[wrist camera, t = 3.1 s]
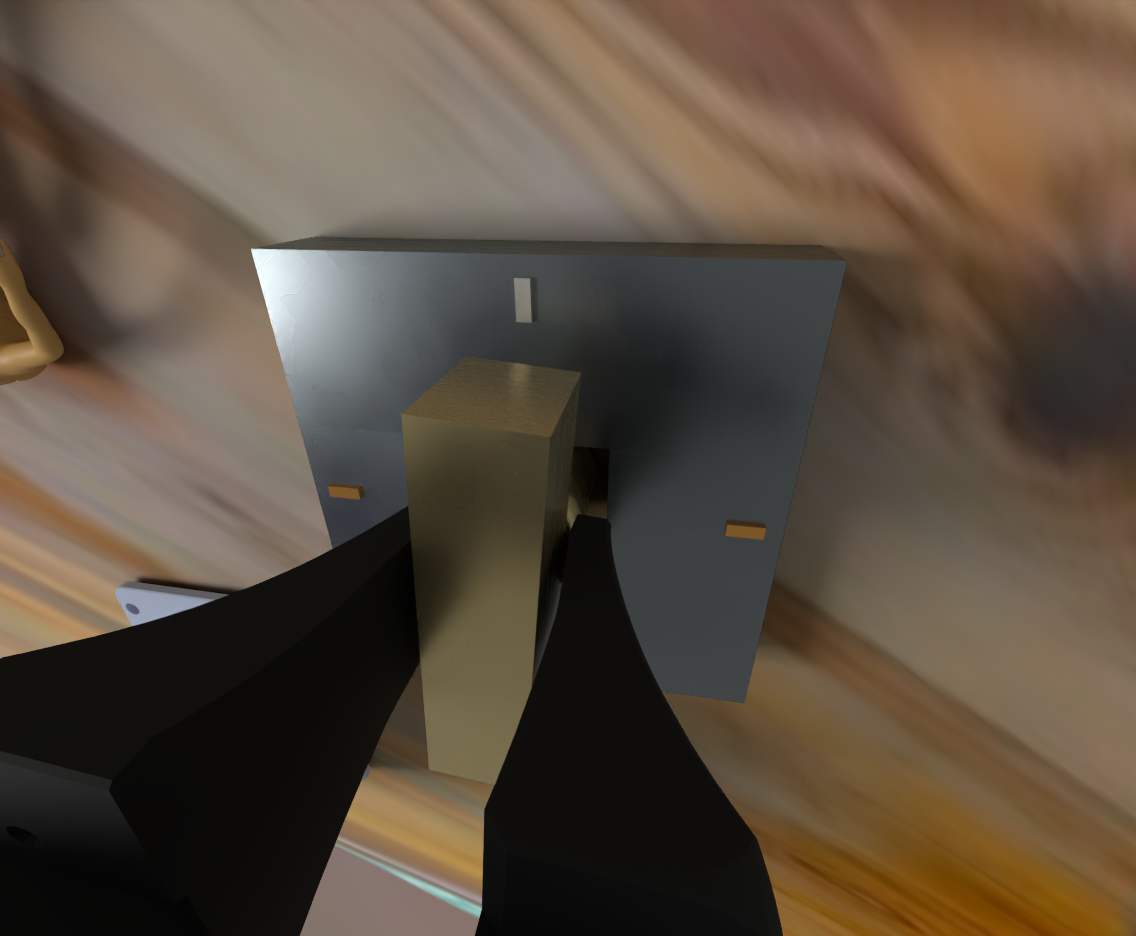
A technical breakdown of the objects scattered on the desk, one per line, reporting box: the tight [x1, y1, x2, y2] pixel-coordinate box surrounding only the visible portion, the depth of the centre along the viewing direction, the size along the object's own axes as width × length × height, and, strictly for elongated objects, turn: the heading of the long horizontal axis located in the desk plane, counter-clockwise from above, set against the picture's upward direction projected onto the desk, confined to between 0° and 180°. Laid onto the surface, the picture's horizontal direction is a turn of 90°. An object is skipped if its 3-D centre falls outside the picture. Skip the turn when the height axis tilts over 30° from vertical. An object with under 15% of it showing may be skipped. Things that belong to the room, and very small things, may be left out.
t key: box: [401, 356, 596, 785], centre depth 12 cm, size 8×2×6 cm, turn 175°
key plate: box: [251, 237, 847, 703], centre depth 13 cm, size 11×11×2 cm
